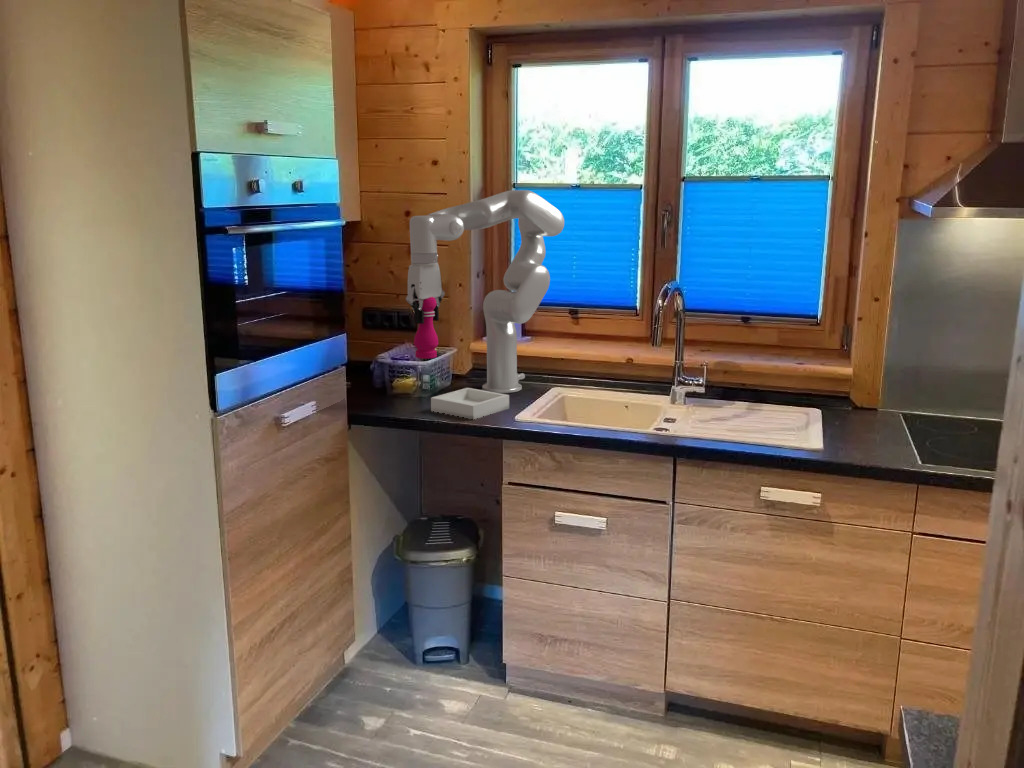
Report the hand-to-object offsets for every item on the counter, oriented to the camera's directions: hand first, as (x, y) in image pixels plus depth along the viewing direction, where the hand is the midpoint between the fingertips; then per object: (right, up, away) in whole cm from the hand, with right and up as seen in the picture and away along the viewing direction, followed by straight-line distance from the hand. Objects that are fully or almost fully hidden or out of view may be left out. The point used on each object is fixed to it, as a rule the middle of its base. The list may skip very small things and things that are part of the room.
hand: (426, 321), depth 243 cm
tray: (+13, -26, -2) cm, 29 cm away
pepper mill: (0, -11, +2) cm, 11 cm away
